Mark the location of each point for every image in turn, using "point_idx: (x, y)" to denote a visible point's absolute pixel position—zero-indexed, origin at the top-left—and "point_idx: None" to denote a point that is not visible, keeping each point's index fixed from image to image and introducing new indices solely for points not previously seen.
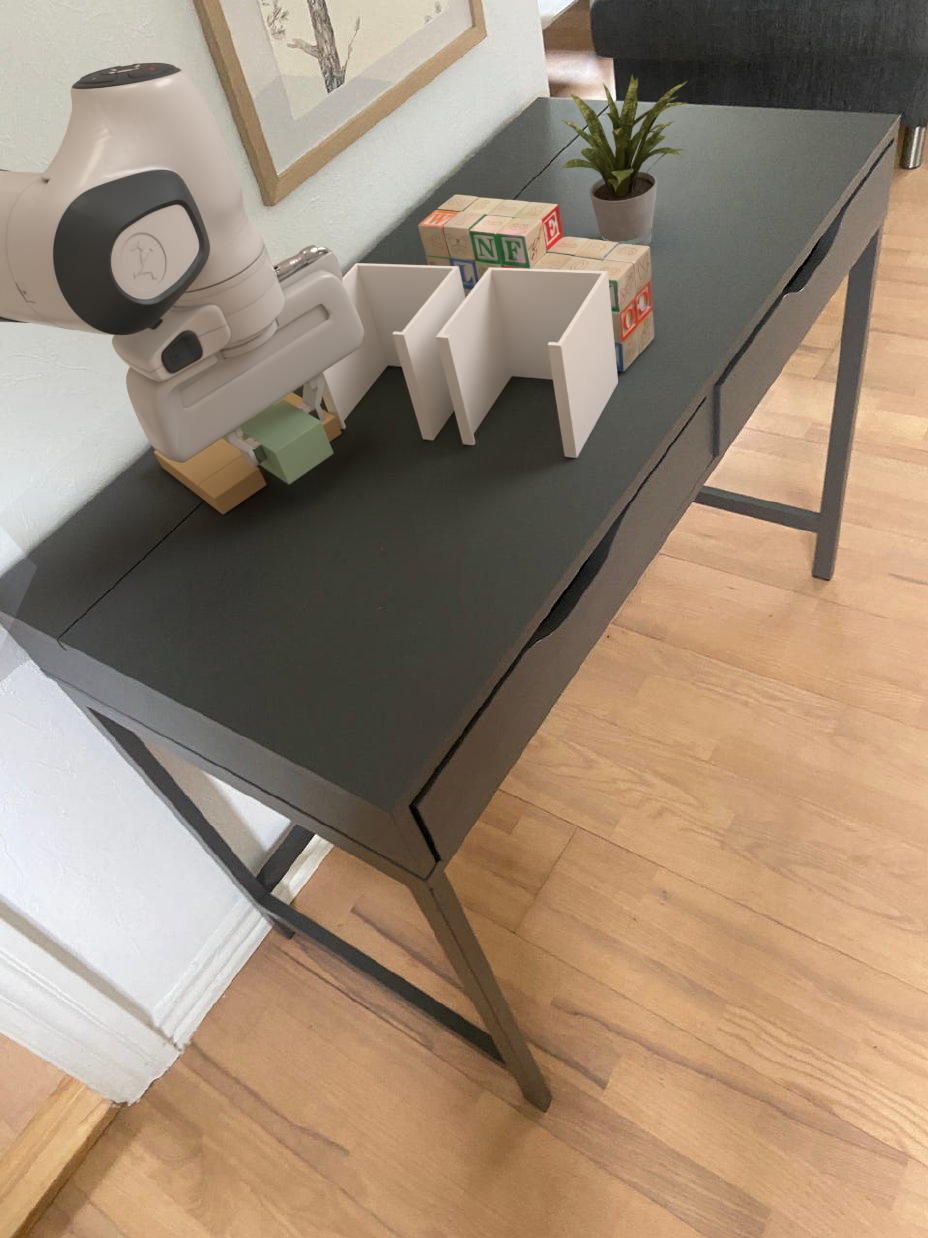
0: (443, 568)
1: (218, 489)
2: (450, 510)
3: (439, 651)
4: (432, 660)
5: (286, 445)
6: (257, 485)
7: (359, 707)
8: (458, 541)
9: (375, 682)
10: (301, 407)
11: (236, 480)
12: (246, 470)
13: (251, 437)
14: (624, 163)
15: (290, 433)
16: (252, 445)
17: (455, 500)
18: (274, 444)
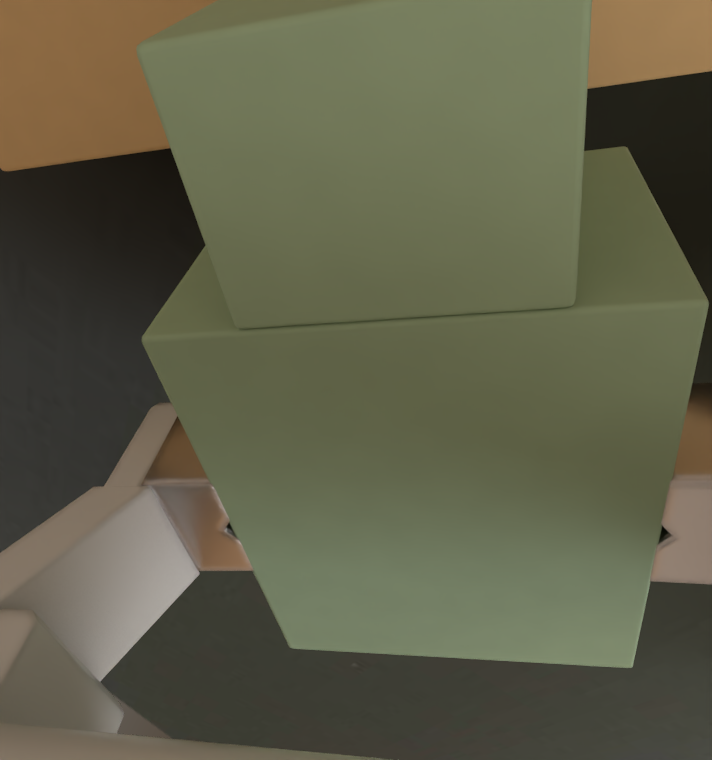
0: (507, 684)
1: (24, 119)
2: (663, 626)
3: (382, 738)
4: (364, 738)
5: (366, 651)
6: None
7: (237, 720)
8: (586, 672)
9: (274, 715)
10: (685, 517)
11: (134, 126)
12: None
13: (215, 493)
14: None
15: (436, 620)
16: (199, 551)
17: (704, 617)
18: (316, 616)
